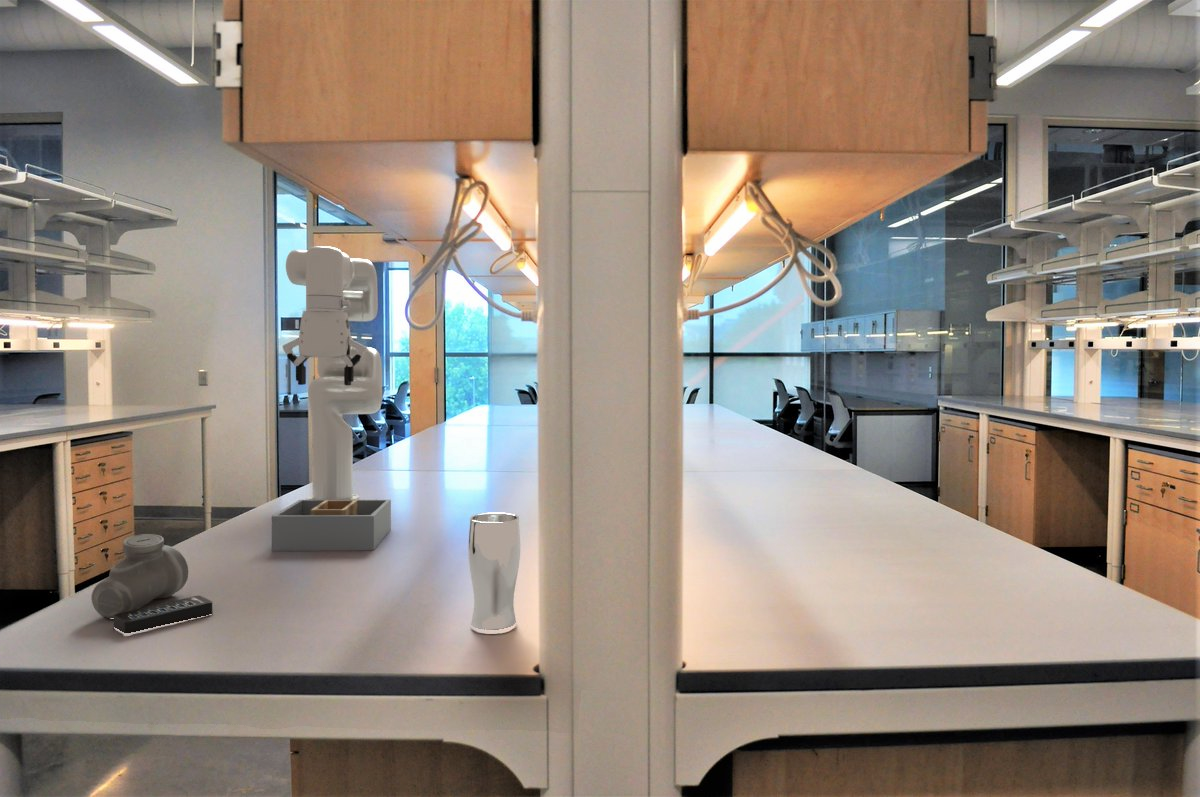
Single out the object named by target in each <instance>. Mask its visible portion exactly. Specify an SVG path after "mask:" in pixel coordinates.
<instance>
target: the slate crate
mask: <svg viewBox="0 0 1200 797" xmlns="http://www.w3.org/2000/svg"><path fill="white" fill-rule="evenodd" d="M324 501H325V500H306V499H299V500H297V501H295V502H294V503H292V504H290V505H289V506H287V507H285V508H283V509H281V510H279V511H278V512H277V513H275V514H274V515H272V516H271V552H282V551H283V552H291V551H293V552H295V551H296V552H297V551H299V552H301V551H302V552H303V551H304V552H305V551H308V552H309V551H311V552H313V551H317V552H318V551H320V552H321V551H375V549H376V548H377V547H378V546H379V545H380V543H381V542H382V541H383V540H384V539H385V537H387V535H388V534H389V533H390V532H391V530H392V501H391V499H359V500H357V515H311V509H313V508H314V507H316V506H318V505H319V504H321V503H322V502H324Z"/></svg>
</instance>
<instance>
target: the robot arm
mask: <svg viewBox="0 0 1200 797" xmlns="http://www.w3.org/2000/svg"><path fill="white" fill-rule="evenodd" d="M285 273H286V276H287V278H288V280H289V282H290V283H292V285H296V286H304V287H305V310H304V311H302V315H301V320H300V325H299V333H298V334H299V335H298V336H299V337H297V338H295V339H293V340H291V341H289V342H288V343H285V344H283V345H282V349H283V351H284V353H285V354H286V357H287V359H288V360H289V361H290V362H291V363H292V364H293V366H295V381H296V382H297V384H298V386H303V385H306V384H307V377H306V376H307V375H306V374H307V370H306V369H307V368H306V367H307V366H306V365H304V364H305V363H306V362H307V361H308V360H309V359H310V358H317V361H316V362H317V363H316V364H317V365H316V368H317V369H316V371H317V374H318V376H319V377H316V378H314V379H313V380H311V382H310V383H309V385H308V388H307V389H308V390H307V391H308V392H307V395H308V401H309V402H308V403H309V408H310V409H309V411H310V414H311V416H310V417H311V430H312V431H311V437H312V438H311V441H312V442H311V444H312V448H311V449H312V451H311V452H312V454H311V457H312V459H311V460H312V462H311V464H312V467H311V468H312V476H311V478H312V480H311V481H312V482H311V485H312V486H311V488H312V489H311V490H312V495H310V496H307V497H306V498H305V500H360V496H359V495H358V494H355V493H353V491H354V488H353V485H354V484H353V479H354V478H353V471H354V470H353V466H354V465H353V459H354V458H353V456H354V455H353V453H354V452H353V451H354V450H353V449H354V448H353V446H354V445H353V444H354V440H353V438H354V437H353V434H354V433H353V431H352V428H351V426H350V425H349V424H348V423H347V422H346V421H345V420H344V418H343V417H342V416H343V415H370V414H375V413H377V412H379V410H380V409H381V406H382V403H383V402H382V401H383V366H382V365H383V364H382V363H383V362H382V358H381V357H382V356H381V355H380V353H379V351H378V350H377V349H376V348H373V347H370V346H369V347H368V346H365V345H363V344H361V343H360V342H358V341H355V340H354V339H353V337H352V336H351V326H350V322H371V321H373V320H374V319H376V317H377V314H378V308H379V302H378V301H379V300H378V299H379V298H378V297H379V296H378V294H379V293H378V275H377V271H376V267H375V265H374V264H373V263H372V261H370V260H369V259H365V258H364V259H363V258H351V257H350V256H349V255H348V254H347V253H346V252H342V251H341V249H338V248H337V247H332V246H311V247H309V248H307V250H305V249H303V250H302V249H293V250H291V251H290V252H289V253H288V255H287V257H286V260H285ZM297 346H298V354H299V355H298V356H297V355H296V354H294V352H293V349H294V348H296V347H297Z"/></svg>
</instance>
